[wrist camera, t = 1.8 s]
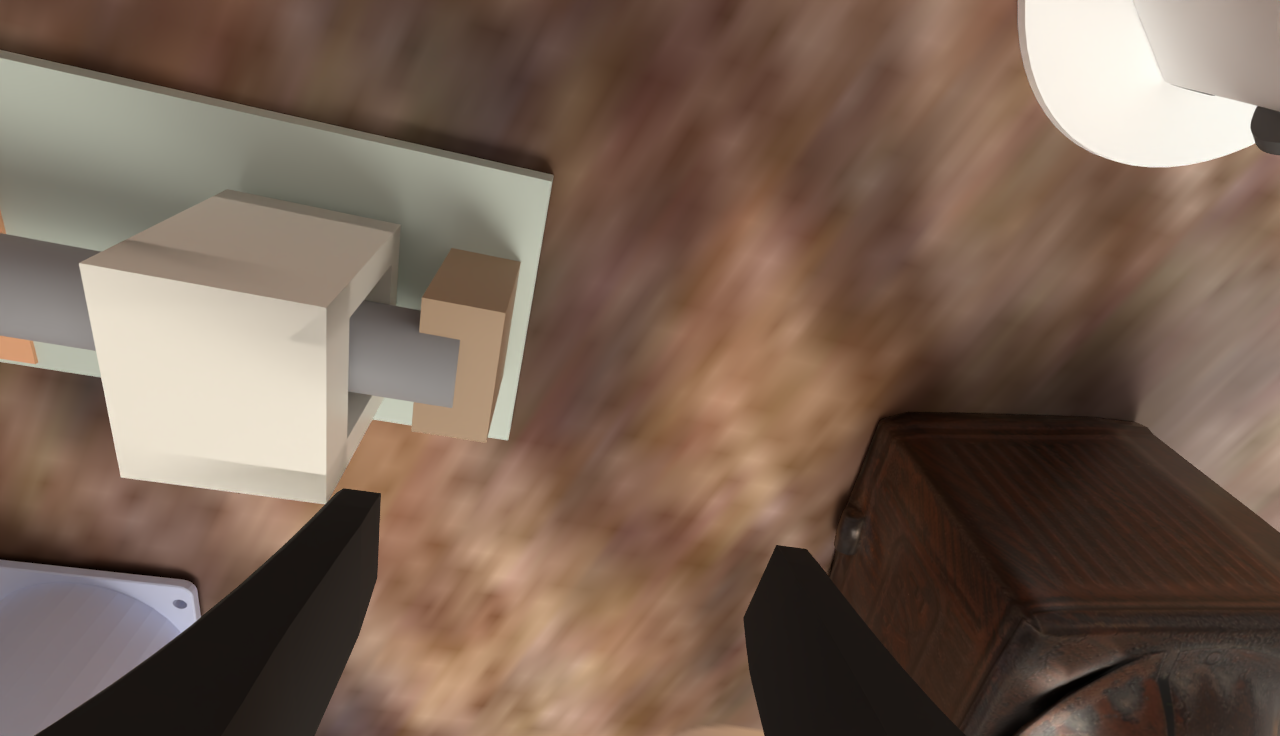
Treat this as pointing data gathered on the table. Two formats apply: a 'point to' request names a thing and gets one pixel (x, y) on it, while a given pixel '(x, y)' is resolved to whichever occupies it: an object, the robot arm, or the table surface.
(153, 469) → the collar
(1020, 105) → the table surface
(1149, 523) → the dark brown knobbed piece
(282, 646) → the robot arm
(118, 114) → the rail
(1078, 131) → the white bent post
